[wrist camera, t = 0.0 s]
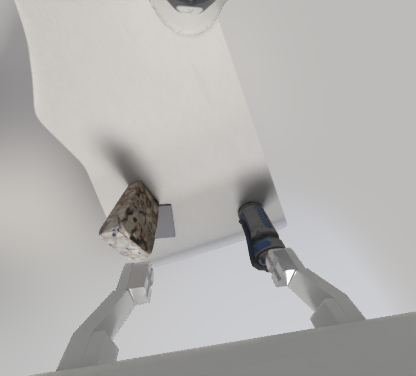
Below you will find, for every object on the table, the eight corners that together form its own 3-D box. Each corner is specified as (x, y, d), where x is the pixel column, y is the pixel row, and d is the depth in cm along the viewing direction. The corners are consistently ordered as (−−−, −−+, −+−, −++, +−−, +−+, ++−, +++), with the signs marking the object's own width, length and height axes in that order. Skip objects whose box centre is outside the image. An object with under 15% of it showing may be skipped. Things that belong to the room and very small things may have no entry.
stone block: (122, 187, 52) (92, 237, 35) (140, 177, 50) (118, 225, 34) (149, 213, 59) (134, 265, 42) (165, 205, 58) (156, 256, 41)
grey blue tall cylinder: (238, 198, 61) (265, 261, 41) (267, 203, 64) (305, 263, 45) (228, 216, 66) (247, 280, 46) (255, 220, 70) (285, 281, 50)
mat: (118, 207, 56) (117, 208, 56) (170, 204, 58) (170, 205, 58) (131, 239, 67) (130, 240, 67) (175, 235, 69) (175, 236, 69)
